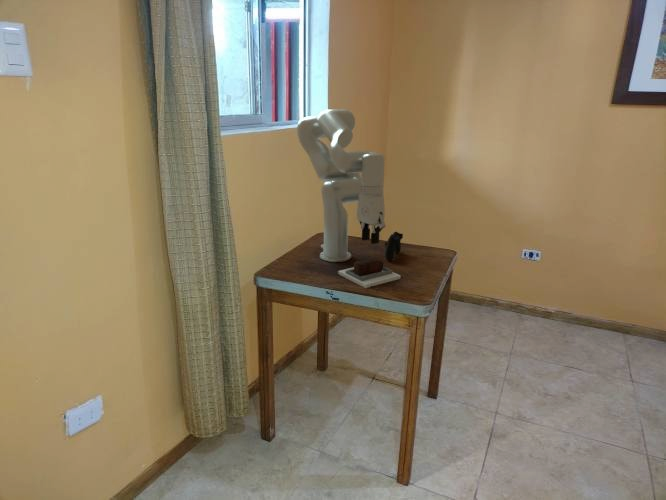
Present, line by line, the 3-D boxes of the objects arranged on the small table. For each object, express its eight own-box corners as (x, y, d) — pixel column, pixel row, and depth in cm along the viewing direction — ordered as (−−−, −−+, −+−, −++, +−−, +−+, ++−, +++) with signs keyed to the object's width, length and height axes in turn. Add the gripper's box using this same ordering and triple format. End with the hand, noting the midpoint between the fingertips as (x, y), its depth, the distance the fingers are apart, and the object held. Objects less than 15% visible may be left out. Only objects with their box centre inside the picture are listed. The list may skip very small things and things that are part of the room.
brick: (360, 277, 161) (360, 264, 160) (353, 273, 165) (353, 261, 163) (383, 271, 167) (384, 259, 166) (376, 268, 170) (377, 256, 169)
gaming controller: (389, 251, 194) (391, 228, 191) (403, 252, 192) (405, 229, 189) (380, 261, 182) (381, 236, 179) (395, 263, 180) (396, 238, 177)
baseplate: (338, 273, 168) (338, 268, 167) (372, 265, 176) (372, 260, 176) (365, 288, 155) (365, 282, 155) (400, 278, 164) (400, 272, 163)
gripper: (348, 187, 161) (347, 237, 166) (379, 195, 148) (377, 249, 153) (365, 185, 165) (363, 234, 170) (397, 193, 152) (394, 245, 157)
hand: (370, 241), depth 162 cm, fingers open, 4 cm apart
